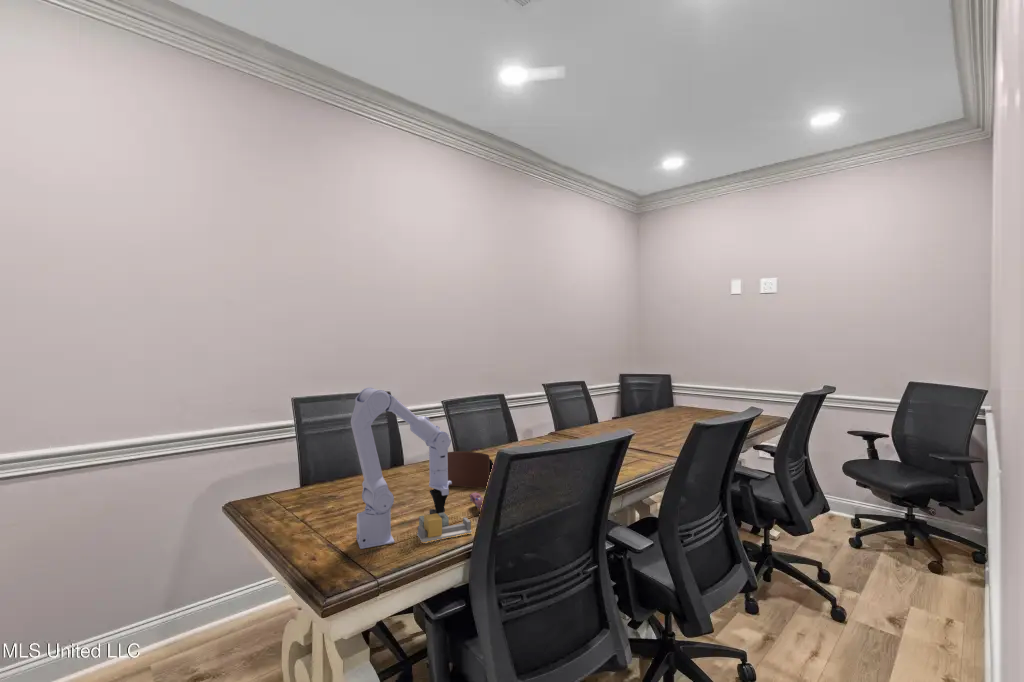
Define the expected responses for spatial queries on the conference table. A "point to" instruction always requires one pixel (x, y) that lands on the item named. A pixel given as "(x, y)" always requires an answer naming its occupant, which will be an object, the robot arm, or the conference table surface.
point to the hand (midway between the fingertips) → (439, 512)
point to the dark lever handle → (434, 511)
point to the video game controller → (476, 500)
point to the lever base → (444, 517)
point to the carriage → (433, 524)
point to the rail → (446, 531)
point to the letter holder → (469, 468)
